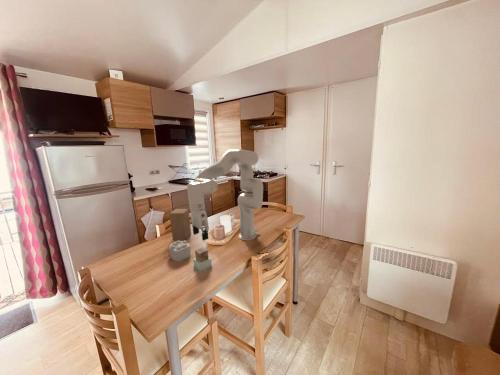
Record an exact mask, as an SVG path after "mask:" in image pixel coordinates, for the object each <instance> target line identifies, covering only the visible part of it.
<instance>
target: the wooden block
mask: <svg viewBox="0 0 500 375" xmlns="http://www.w3.org/2000/svg"><path fill="white" fill-rule="evenodd" d="M189 211H190V208H175V209H173V210H172V211H171V212H169V220H170V227H171V228H170V229H171V236H172V240H174V241H178V240H179V241H186V240H187V239H188V238H189V237H190V236H191V234H192V230H191V229H192V228H191V218H190V212H189Z"/></svg>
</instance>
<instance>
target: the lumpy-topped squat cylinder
mask: <svg viewBox="0 0 500 375" xmlns="http://www.w3.org/2000/svg"><path fill="white" fill-rule="evenodd" d="M168 248H169V250H168V251H169V255H170V259H172V261H174V262H182V261H183V260H185V259H188V258H191V255H192V253H191V244H190V243H188V242H187V241H186V240H175V241H173V242H171V243H170V244H169V246H168Z"/></svg>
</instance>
